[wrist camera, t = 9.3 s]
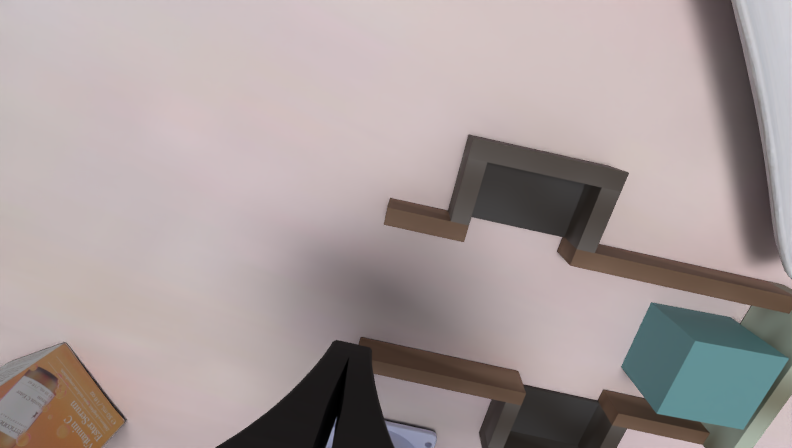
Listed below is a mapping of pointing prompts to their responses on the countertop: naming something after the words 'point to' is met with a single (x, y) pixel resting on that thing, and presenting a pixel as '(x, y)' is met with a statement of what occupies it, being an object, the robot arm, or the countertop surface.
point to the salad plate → (772, 103)
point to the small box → (53, 403)
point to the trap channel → (582, 230)
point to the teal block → (701, 366)
